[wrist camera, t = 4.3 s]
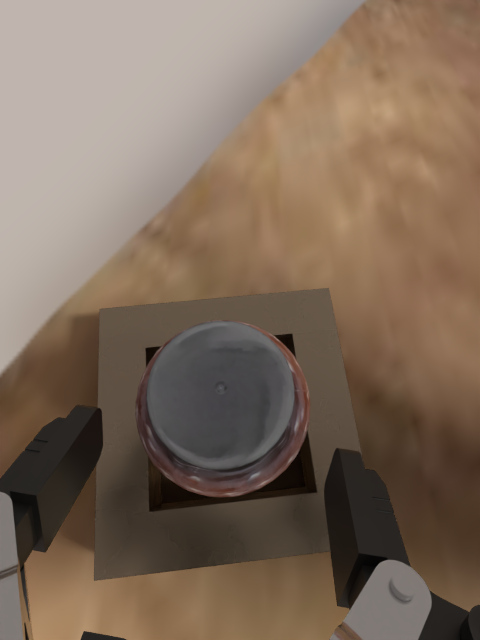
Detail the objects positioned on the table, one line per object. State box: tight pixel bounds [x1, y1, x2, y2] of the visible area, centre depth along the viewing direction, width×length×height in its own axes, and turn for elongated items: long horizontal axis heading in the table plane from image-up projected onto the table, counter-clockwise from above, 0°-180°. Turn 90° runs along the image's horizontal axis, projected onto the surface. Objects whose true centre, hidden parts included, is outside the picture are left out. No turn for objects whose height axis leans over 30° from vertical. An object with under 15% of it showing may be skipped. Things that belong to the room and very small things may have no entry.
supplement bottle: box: [135, 320, 310, 497], centre depth 15 cm, size 6×6×11 cm
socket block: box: [94, 288, 364, 581], centre depth 19 cm, size 12×12×3 cm
